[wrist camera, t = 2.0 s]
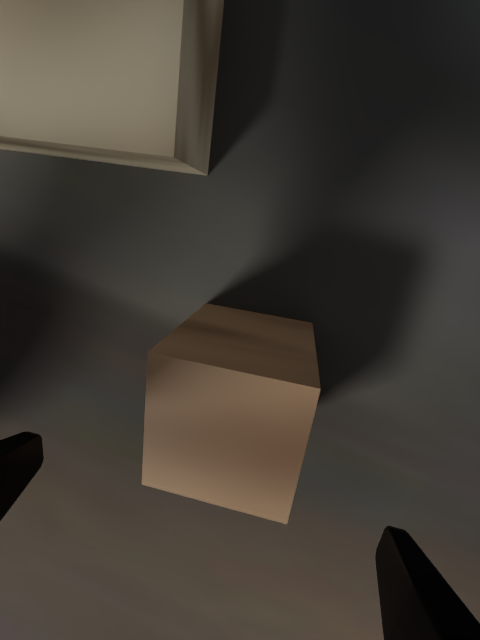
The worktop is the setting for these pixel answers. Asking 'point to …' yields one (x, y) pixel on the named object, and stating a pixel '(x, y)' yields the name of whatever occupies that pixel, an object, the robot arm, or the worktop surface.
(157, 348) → the walnut block
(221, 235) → the worktop surface
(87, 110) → the birch block
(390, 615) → the robot arm
